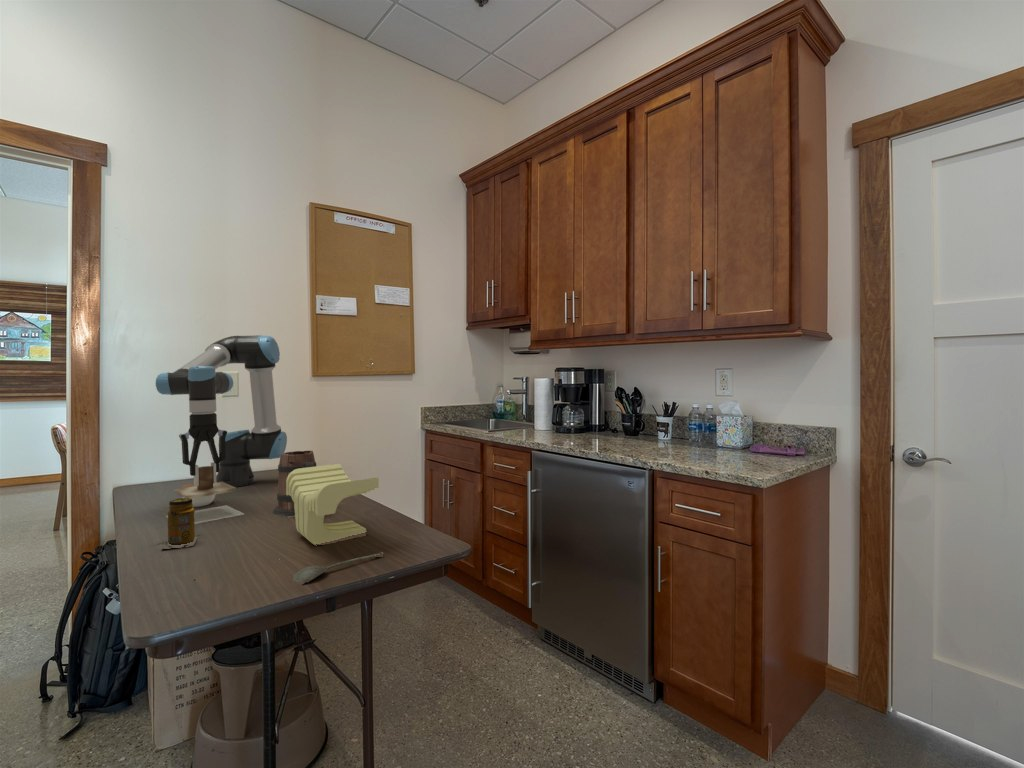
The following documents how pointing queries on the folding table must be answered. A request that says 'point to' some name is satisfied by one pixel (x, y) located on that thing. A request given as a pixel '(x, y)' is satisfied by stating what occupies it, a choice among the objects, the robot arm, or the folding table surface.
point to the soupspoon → (319, 570)
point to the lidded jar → (200, 498)
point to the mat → (214, 514)
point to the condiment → (181, 521)
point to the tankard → (285, 467)
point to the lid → (205, 485)
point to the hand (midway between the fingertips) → (205, 483)
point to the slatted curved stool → (324, 501)
